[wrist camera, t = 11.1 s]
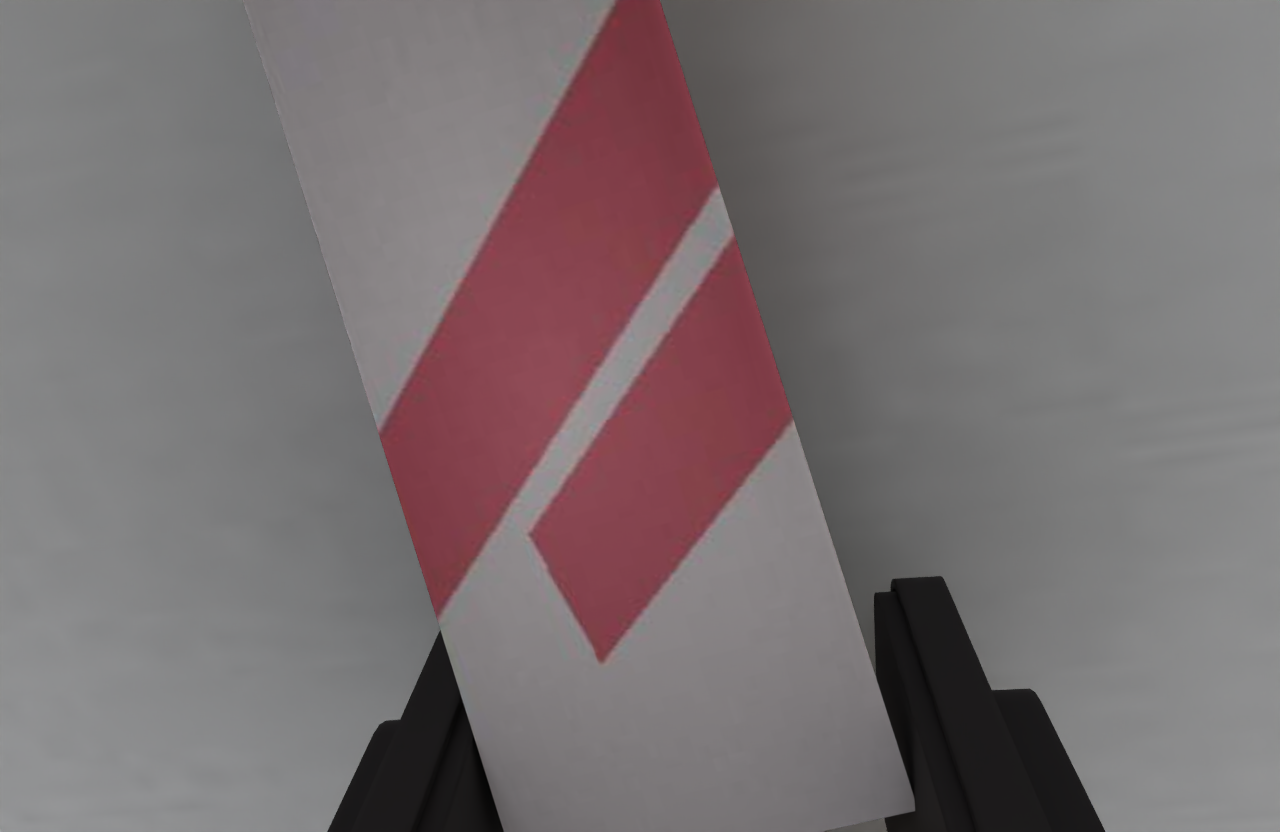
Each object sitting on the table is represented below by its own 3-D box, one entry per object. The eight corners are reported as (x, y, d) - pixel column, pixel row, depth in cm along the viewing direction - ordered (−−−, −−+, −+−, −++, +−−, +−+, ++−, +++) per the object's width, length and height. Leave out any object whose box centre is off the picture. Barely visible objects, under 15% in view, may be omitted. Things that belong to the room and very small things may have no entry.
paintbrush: (611, -525, 5) (1048, 1379, 13) (619, -355, 8) (980, 1151, 15) (-36, -286, 6) (762, 1422, 13) (173, -198, 8) (741, 1194, 16)
